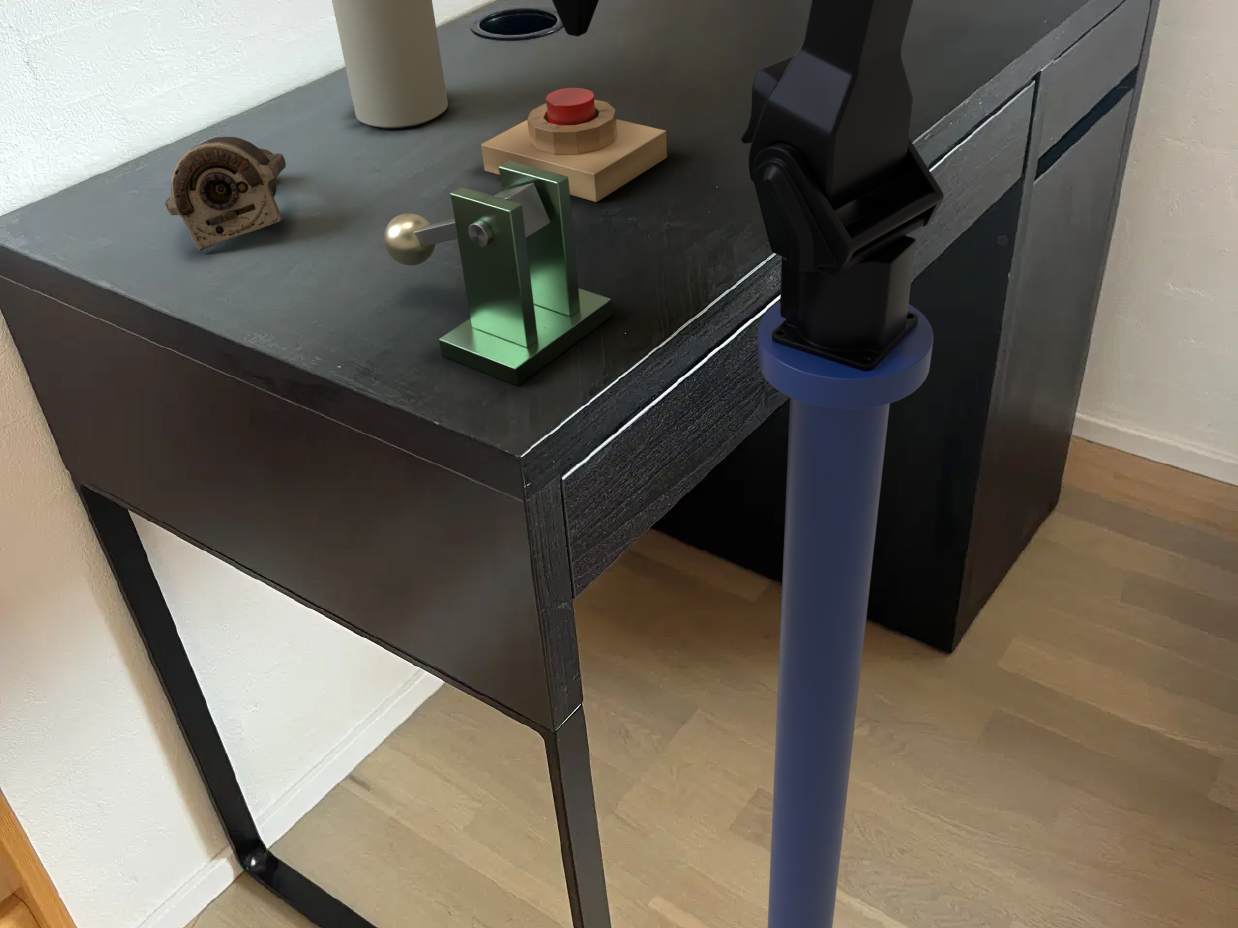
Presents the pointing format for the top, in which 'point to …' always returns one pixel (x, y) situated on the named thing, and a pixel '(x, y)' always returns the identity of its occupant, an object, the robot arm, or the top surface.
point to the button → (570, 106)
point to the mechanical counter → (225, 190)
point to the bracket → (519, 280)
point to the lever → (452, 227)
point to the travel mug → (392, 60)
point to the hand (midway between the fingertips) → (576, 34)
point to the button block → (580, 150)
